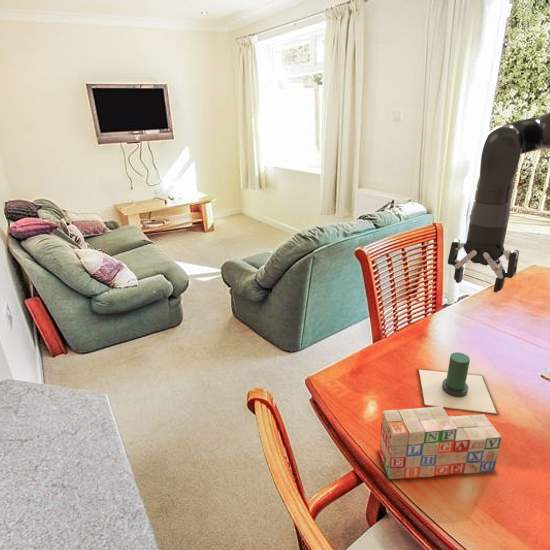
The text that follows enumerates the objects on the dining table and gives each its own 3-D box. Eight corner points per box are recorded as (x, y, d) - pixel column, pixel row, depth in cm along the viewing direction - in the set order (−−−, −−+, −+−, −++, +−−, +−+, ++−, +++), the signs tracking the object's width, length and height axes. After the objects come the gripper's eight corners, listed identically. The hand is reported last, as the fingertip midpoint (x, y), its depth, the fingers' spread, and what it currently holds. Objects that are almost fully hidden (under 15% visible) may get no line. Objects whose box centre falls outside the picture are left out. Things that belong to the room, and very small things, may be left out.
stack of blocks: (477, 447, 80) (487, 402, 76) (494, 472, 75) (506, 425, 70) (378, 453, 80) (382, 409, 75) (388, 480, 74) (392, 433, 70)
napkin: (481, 376, 101) (481, 375, 101) (496, 413, 89) (496, 413, 89) (418, 370, 105) (418, 369, 105) (424, 405, 92) (424, 404, 92)
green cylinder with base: (464, 383, 99) (470, 351, 95) (469, 398, 93) (476, 366, 89) (440, 380, 100) (445, 349, 96) (444, 395, 95) (449, 363, 91)
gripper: (530, 222, 81) (514, 289, 88) (462, 213, 91) (452, 274, 97) (519, 230, 76) (504, 300, 83) (449, 219, 86) (440, 283, 92)
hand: (476, 286), depth 90 cm, fingers open, 8 cm apart
